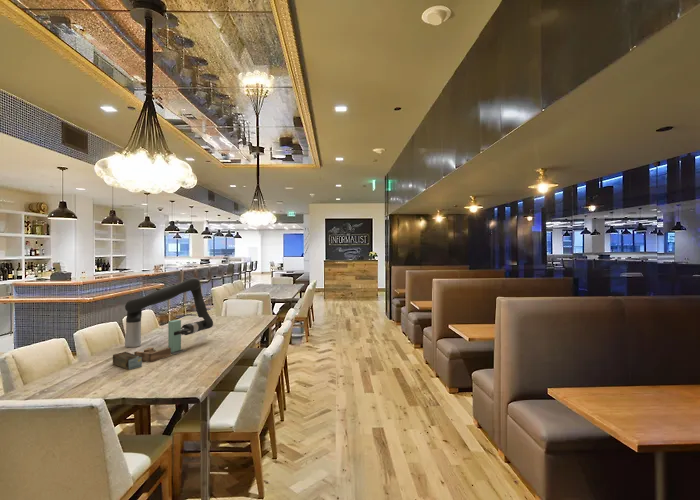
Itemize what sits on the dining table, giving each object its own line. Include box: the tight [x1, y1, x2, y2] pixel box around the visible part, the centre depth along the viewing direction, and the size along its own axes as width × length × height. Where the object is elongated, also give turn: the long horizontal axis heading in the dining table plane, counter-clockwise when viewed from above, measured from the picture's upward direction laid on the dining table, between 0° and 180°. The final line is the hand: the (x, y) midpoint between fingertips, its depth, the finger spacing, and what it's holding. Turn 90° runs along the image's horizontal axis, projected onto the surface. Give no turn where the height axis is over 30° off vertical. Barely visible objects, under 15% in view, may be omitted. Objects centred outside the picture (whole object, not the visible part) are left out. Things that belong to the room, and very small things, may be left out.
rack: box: [133, 347, 172, 363], centre depth 240 cm, size 14×16×5 cm
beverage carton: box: [112, 351, 143, 371], centre depth 223 cm, size 8×19×7 cm, turn 56°
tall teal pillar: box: [167, 319, 182, 352], centre depth 254 cm, size 4×7×20 cm, turn 162°
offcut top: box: [143, 347, 155, 353], centre depth 240 cm, size 3×6×3 cm, turn 2°
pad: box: [171, 348, 188, 356], centre depth 254 cm, size 11×11×1 cm
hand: (171, 333), depth 251 cm, fingers closed on tall teal pillar, 4 cm apart
